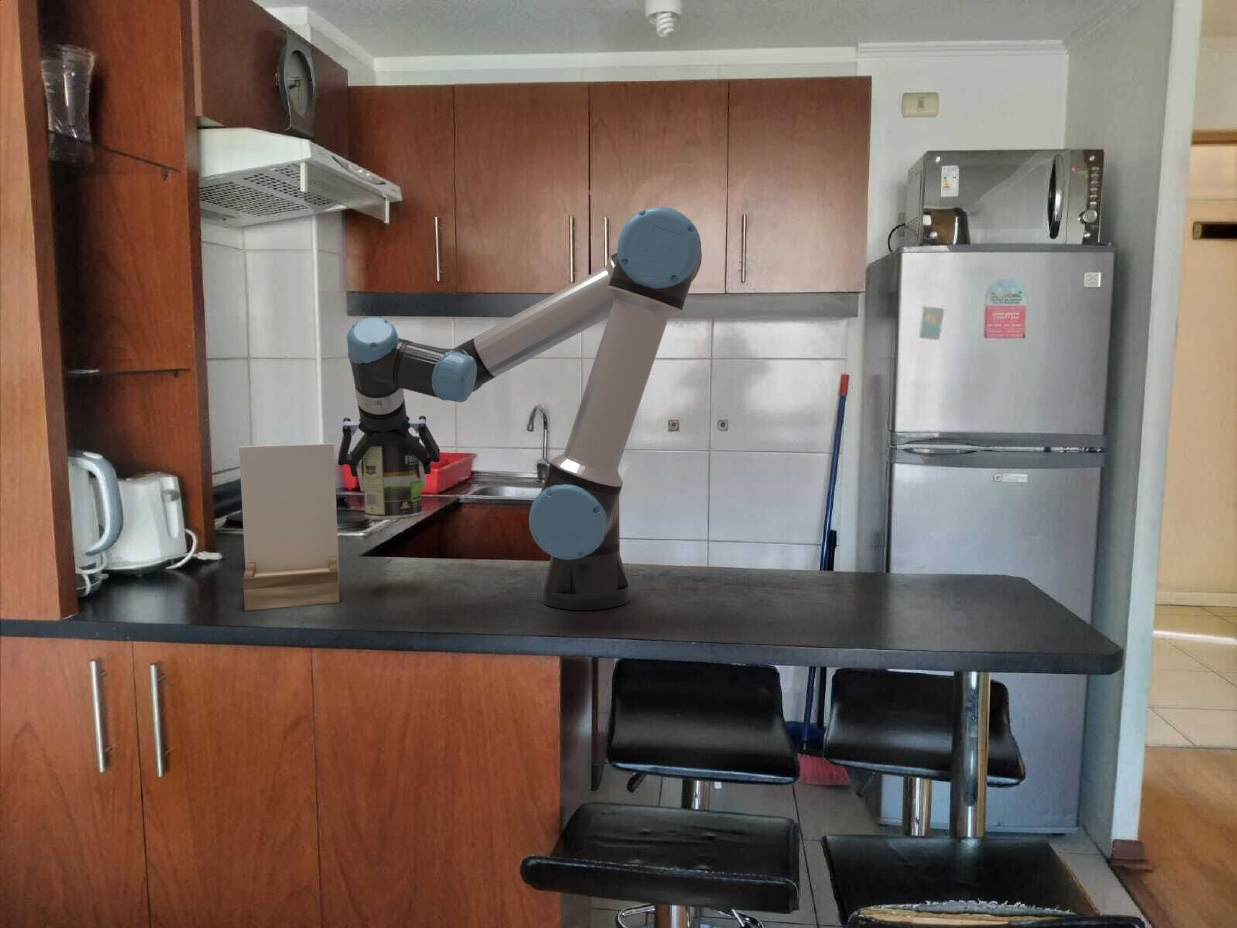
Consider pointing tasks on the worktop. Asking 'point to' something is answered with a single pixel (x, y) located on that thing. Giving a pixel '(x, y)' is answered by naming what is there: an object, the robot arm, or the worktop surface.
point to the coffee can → (391, 482)
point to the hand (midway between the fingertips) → (393, 484)
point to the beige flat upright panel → (289, 506)
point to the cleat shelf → (290, 586)
